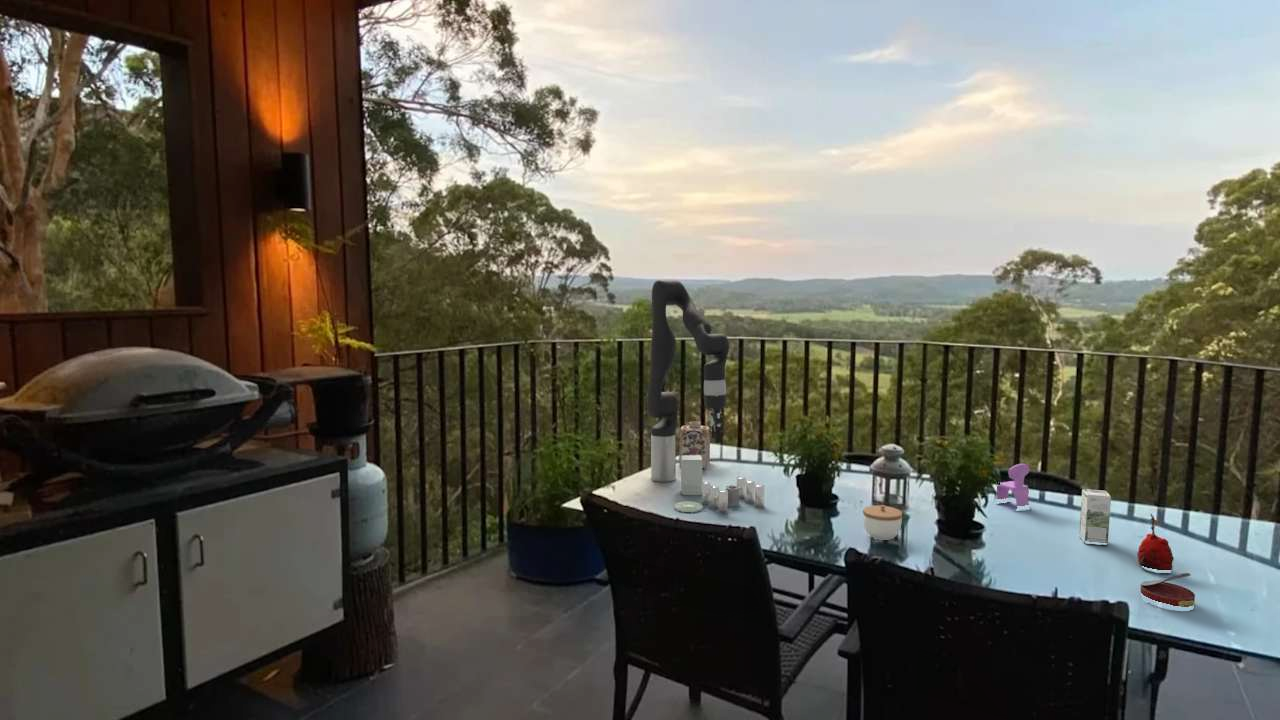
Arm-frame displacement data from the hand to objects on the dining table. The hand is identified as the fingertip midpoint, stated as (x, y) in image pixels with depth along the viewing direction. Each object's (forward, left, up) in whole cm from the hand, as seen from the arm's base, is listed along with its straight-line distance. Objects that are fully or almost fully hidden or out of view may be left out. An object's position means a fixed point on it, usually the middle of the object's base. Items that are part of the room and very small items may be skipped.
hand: (716, 440), depth 237 cm
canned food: (+112, +51, -21) cm, 125 cm away
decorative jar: (-45, +17, -21) cm, 52 cm away
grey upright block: (+7, +2, -21) cm, 22 cm away
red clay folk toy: (+100, +68, -21) cm, 123 cm away
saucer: (+4, -13, -21) cm, 25 cm away
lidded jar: (+52, +24, -21) cm, 61 cm away
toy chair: (+49, +83, -21) cm, 99 cm away
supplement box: (-12, -3, -21) cm, 24 cm away
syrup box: (+81, +74, -21) cm, 112 cm away
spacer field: (+7, +2, -21) cm, 22 cm away
